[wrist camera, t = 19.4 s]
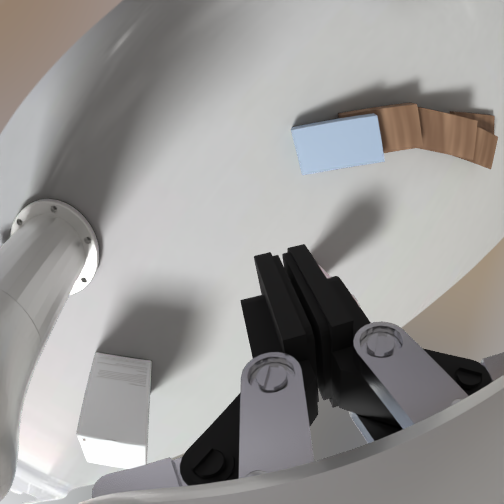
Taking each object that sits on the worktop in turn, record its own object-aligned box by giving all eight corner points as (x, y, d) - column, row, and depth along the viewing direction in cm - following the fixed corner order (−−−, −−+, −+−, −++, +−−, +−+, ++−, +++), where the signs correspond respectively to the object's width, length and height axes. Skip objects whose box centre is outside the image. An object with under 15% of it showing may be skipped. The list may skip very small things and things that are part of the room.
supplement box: (98, 386, 46) (84, 462, 33) (94, 350, 42) (73, 433, 29) (151, 395, 48) (147, 473, 35) (153, 360, 44) (146, 446, 31)
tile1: (302, 175, 33) (384, 161, 31) (291, 130, 31) (377, 115, 28) (302, 170, 35) (381, 157, 32) (291, 127, 32) (373, 113, 30)
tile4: (451, 155, 33) (490, 169, 35) (459, 118, 31) (498, 136, 33) (443, 151, 35) (482, 165, 37) (450, 116, 33) (489, 134, 34)
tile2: (349, 159, 33) (422, 146, 31) (340, 115, 31) (417, 104, 29) (346, 155, 35) (417, 143, 33) (337, 113, 32) (411, 102, 30)
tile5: (454, 148, 35) (493, 148, 35) (454, 112, 32) (494, 116, 33) (446, 145, 36) (485, 145, 37) (446, 110, 34) (486, 114, 35)
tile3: (407, 146, 33) (472, 160, 31) (410, 105, 31) (477, 121, 29) (404, 144, 35) (468, 157, 33) (408, 105, 33) (472, 120, 30)
